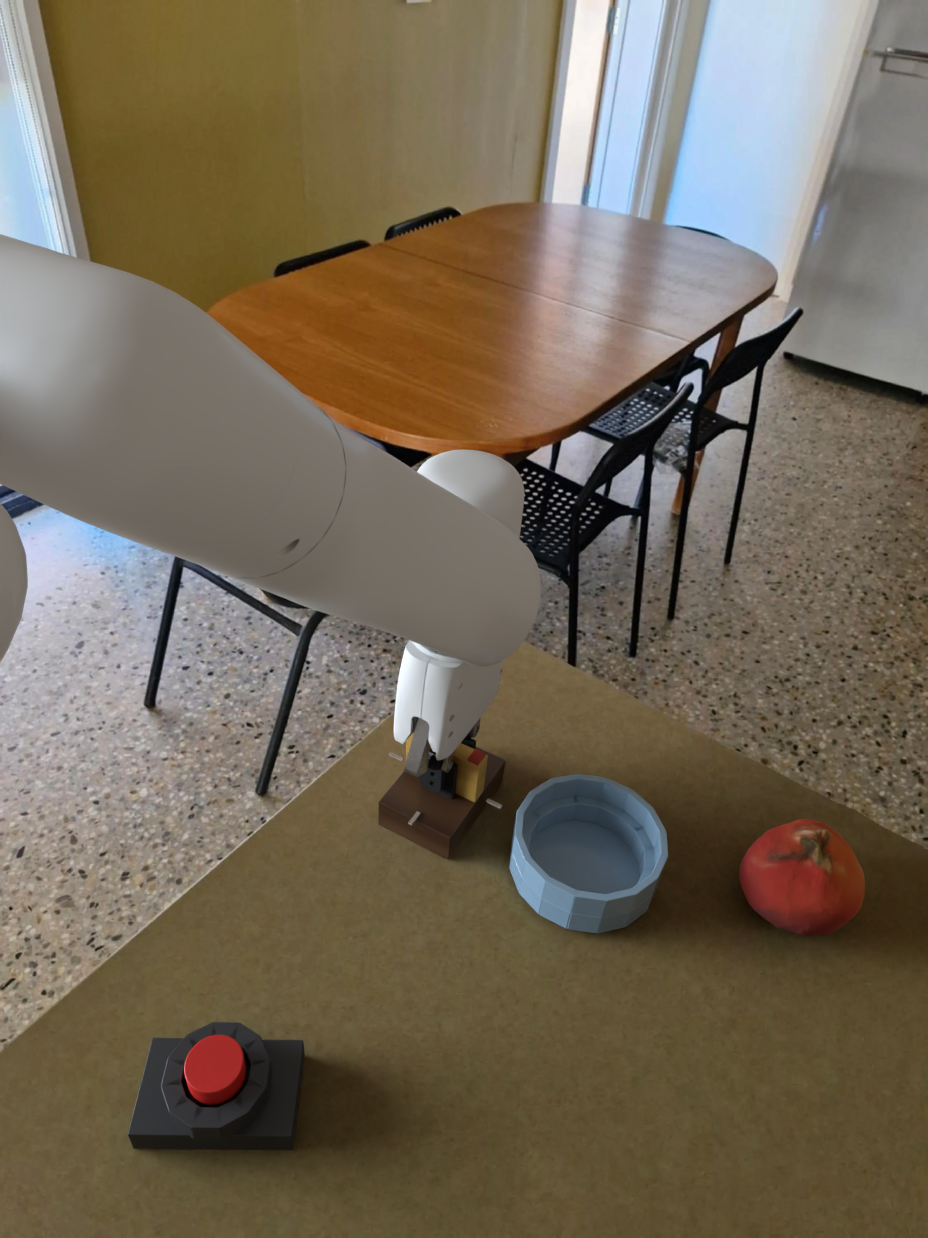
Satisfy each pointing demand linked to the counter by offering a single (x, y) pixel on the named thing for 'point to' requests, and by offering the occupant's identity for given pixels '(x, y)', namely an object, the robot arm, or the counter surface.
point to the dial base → (436, 809)
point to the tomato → (803, 878)
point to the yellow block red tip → (466, 770)
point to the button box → (237, 1124)
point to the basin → (587, 853)
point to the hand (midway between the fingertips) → (446, 776)
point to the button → (215, 1069)
